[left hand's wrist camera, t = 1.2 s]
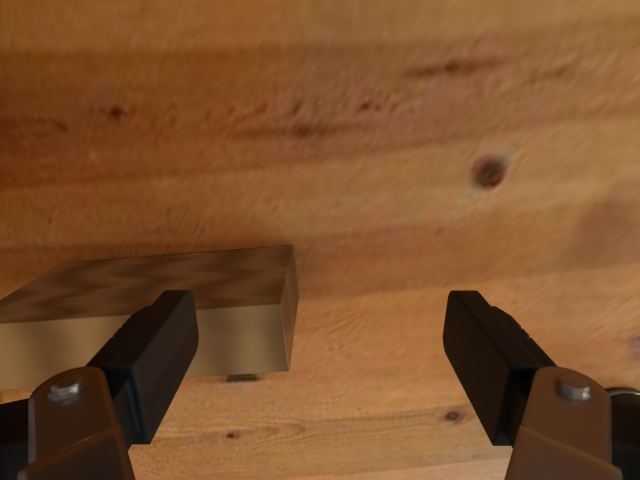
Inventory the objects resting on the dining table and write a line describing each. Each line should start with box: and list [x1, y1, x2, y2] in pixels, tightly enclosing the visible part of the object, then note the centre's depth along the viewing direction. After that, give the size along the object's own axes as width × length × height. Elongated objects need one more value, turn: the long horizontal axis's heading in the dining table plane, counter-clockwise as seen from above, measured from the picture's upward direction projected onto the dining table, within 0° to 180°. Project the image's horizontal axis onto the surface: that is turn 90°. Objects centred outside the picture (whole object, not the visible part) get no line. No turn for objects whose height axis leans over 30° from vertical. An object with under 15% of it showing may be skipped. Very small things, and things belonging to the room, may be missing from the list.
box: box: [0, 245, 299, 390], centre depth 32 cm, size 24×6×12 cm, turn 95°
